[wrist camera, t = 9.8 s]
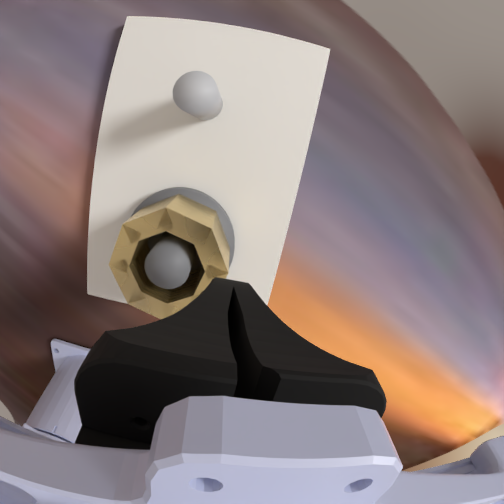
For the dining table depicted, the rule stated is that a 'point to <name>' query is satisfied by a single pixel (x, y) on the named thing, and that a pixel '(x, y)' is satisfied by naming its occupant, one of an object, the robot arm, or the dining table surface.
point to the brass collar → (181, 225)
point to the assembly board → (203, 143)
